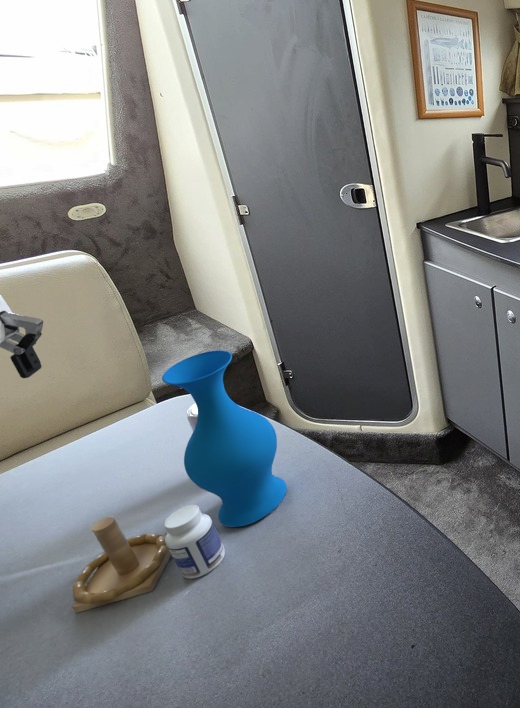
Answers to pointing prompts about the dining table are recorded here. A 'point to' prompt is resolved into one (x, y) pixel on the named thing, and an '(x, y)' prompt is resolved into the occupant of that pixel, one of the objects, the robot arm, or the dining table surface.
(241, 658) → the dining table surface
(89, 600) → the ring
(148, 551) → the wooden base with post
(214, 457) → the vase
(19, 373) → the robot arm
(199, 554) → the pill bottle
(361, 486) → the dining table surface
